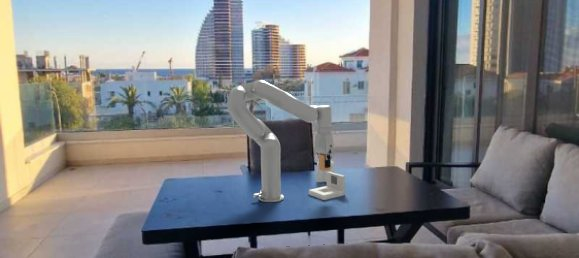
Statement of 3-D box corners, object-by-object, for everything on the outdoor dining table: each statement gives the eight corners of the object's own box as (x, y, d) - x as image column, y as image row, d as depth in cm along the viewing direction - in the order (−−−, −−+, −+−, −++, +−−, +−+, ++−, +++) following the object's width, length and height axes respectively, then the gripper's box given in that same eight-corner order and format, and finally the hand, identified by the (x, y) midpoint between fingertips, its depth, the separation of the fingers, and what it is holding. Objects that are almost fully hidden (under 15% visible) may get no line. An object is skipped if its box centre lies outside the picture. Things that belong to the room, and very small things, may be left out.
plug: (324, 171, 219) (323, 151, 218) (319, 169, 222) (318, 150, 221) (330, 169, 221) (330, 150, 220) (325, 168, 224) (325, 149, 223)
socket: (323, 200, 217) (323, 180, 216) (308, 194, 227) (308, 175, 226) (344, 195, 225) (345, 175, 224) (329, 189, 235) (329, 171, 234)
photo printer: (333, 180, 254) (333, 159, 253) (335, 182, 250) (335, 160, 248) (315, 181, 253) (315, 160, 251) (317, 183, 249) (317, 161, 247)
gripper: (308, 129, 224) (308, 164, 226) (328, 133, 210) (329, 170, 213) (319, 128, 228) (320, 162, 230) (340, 131, 214) (341, 168, 217)
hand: (324, 166), depth 221 cm, fingers closed on plug, 4 cm apart
